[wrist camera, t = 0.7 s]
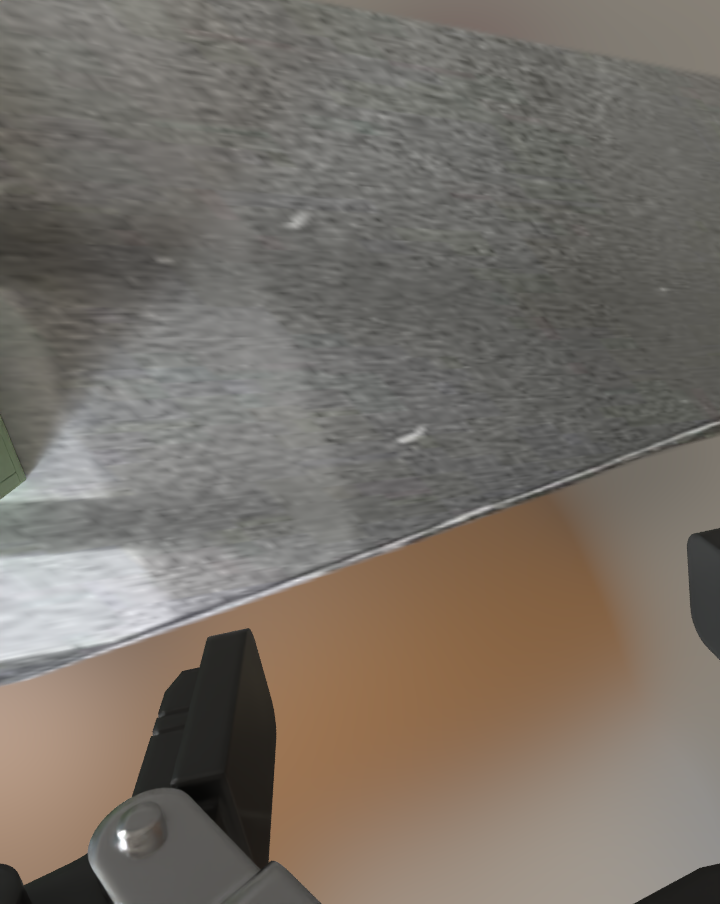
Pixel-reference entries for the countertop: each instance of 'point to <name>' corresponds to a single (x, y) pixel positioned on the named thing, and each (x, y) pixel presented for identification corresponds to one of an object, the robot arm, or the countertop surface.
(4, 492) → the green tote
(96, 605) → the countertop surface
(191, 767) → the robot arm
